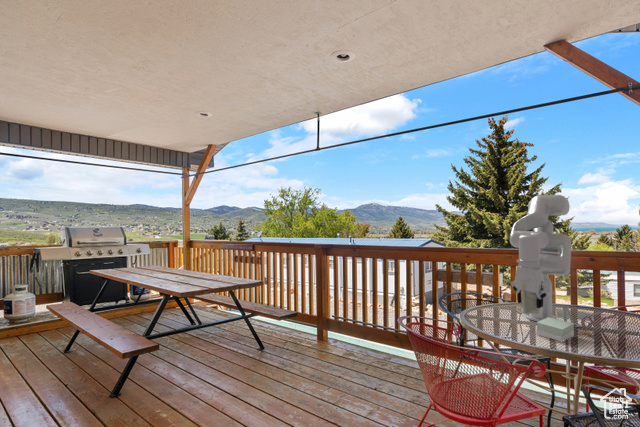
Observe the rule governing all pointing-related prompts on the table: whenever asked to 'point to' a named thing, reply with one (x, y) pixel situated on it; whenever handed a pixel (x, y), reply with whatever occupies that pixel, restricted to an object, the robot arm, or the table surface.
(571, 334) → the bottom slab
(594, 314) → the table surface
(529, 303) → the skincare box
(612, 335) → the table surface
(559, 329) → the top slab
